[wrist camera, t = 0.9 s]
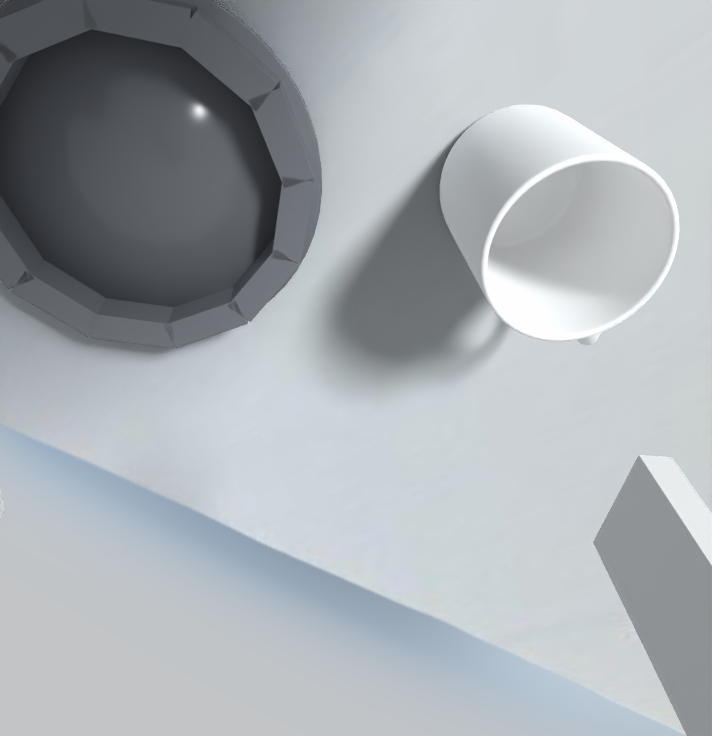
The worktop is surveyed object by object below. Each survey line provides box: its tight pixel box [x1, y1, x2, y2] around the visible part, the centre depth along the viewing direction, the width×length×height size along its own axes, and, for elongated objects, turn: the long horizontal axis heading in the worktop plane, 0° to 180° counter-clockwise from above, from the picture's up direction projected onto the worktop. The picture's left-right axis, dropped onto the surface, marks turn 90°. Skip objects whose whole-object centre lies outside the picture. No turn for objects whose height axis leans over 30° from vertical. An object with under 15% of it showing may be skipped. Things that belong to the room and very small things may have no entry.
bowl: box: [0, 0, 322, 348], centre depth 33 cm, size 19×19×3 cm
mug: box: [440, 105, 679, 345], centre depth 33 cm, size 9×12×11 cm
